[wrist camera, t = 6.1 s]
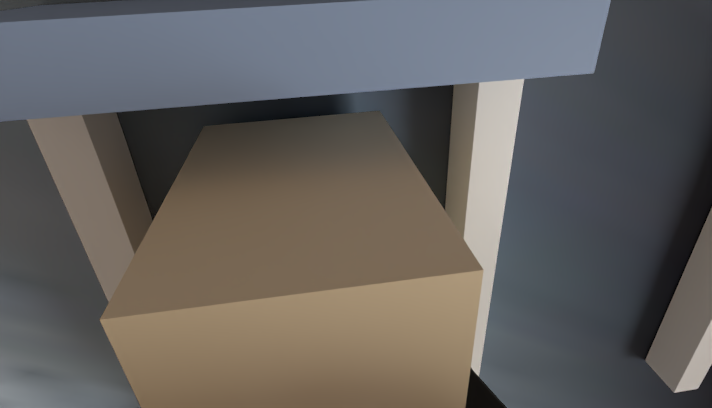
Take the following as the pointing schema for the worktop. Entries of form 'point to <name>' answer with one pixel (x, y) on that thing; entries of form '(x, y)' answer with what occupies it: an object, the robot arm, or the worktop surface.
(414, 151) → the worktop surface
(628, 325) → the worktop surface
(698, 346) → the divider organiser
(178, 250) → the tall tan wooden block
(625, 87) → the worktop surface
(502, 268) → the worktop surface
